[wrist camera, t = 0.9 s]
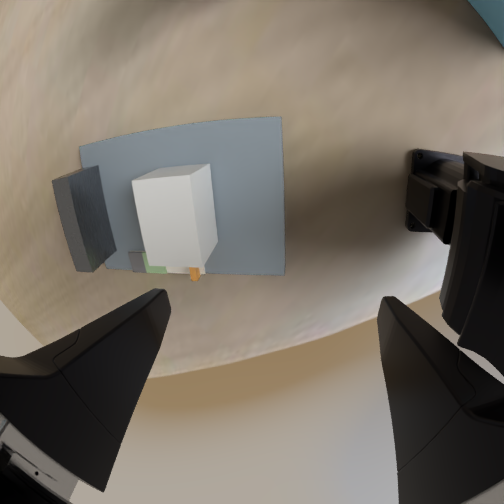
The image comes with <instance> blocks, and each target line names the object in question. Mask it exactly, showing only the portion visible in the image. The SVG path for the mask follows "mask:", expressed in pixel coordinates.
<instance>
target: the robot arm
mask: <svg viewBox="0 0 504 504" xmlns="http://www.w3.org/2000/svg"><path fill="white" fill-rule="evenodd" d="M418 153H420V154H421V157H420V158H419V159H418V157H417V155H418ZM406 208H407V209H408V210H407V217H406V227H407V229H408V230H409V231H413V232H433V233H434V234H435V235H436V236H437V237H438V238H439V239H440V240H441V241H442V242H443V243H444V244H449V245H450V250H449V256H448V261H447V266H446V271H445V275H444V280H443V284H442V288H441V293H440V297H439V299H440V302H441V307H442V310H443V313H442V317H443V319H444V320H445V321H446V323H447V324H448V325H449V327H450V328H452V329H453V330H454V331H455V332H456V333H457V334H458V335H460V337H459V339H458V342H457V344H458V346H460V347H462V348H465V349H468V350H471V351H474V352H475V353H477V354H479V355H481V356H482V357H484V358H485V359H487V360H488V361H489V362H490V363H491V364H492V365H493V366H494V367H495V368H496V369H497V370H498V371H499V372H500V373H501V374H502V375H503V376H504V157H501V156H494V155H487V154H480V153H472V152H463V156H460V155H454V154H449V153H443V152H437V151H430V150H423V149H415V150H414V151H413V154H412V169H411V174H410V175H409V177H408V188H407V198H406ZM411 223H414V224H413V226H411V227H410V224H411ZM170 314H171V306H170V302H169V299H168V295H167V292H166V290H165V289H157V288H155V289H153V290H151V291H149V292H147V293H145V294H143V295H141V296H139V297H137V298H136V299H134V300H132V301H130V302H128V303H126V304H124V305H122V306H121V307H119V308H117V309H115V310H113V311H111V312H109V313H108V314H106V315H104V316H102V317H100V318H98V319H96V320H95V321H93V322H91V323H89V324H87V325H85V326H84V327H82V328H81V329H78V330H76V331H74V332H73V333H71V334H69V335H67V336H65V337H63V338H61V339H59V340H57V341H55V342H53V343H51V344H49V345H46V346H44V347H42V348H40V349H38V350H36V351H33V352H31V353H29V354H27V355H25V356H21V357H15V358H11V357H5V356H0V504H72V503H71V502H69V499H70V497H71V495H72V493H73V491H74V488H75V486H76V484H77V482H78V480H81V481H82V482H84V483H86V484H88V485H89V486H91V487H93V488H95V489H97V490H99V491H101V492H104V491H105V488H106V485H107V482H108V480H109V477H110V474H111V471H112V468H113V465H114V462H115V460H116V457H117V454H118V451H119V449H120V446H121V443H122V440H123V438H124V435H125V432H126V430H127V427H128V424H129V422H130V419H131V417H132V414H133V412H134V409H135V407H136V404H137V402H138V399H139V397H140V394H141V392H142V389H143V387H144V384H145V382H146V380H147V377H148V375H149V372H150V370H151V368H152V365H153V363H154V361H155V358H156V356H157V354H158V351H159V349H160V346H161V343H162V340H163V337H164V333H165V330H166V327H167V324H168V321H169V317H170ZM377 324H378V333H379V341H380V353H381V361H382V367H383V372H384V377H385V382H386V388H387V393H388V399H389V405H390V412H391V418H392V426H393V433H394V441H395V450H396V461H397V471H398V473H397V475H398V493H399V504H504V384H503V383H501V382H500V381H499V380H497V379H496V378H494V377H493V376H492V375H490V374H489V373H488V372H486V371H485V370H484V369H483V368H481V367H480V366H479V365H478V364H476V363H475V362H474V361H473V360H471V359H470V358H469V357H468V356H467V355H466V354H464V353H463V352H462V351H459V349H458V348H457V347H456V346H455V345H454V344H453V343H452V342H450V341H449V340H448V339H447V338H445V337H444V336H443V335H442V334H441V333H440V332H438V331H437V330H436V329H435V328H433V327H432V326H431V325H430V324H429V323H427V322H426V321H425V320H423V319H422V318H421V317H420V316H419V315H417V314H416V313H415V312H414V311H412V310H411V309H410V308H409V307H407V306H406V305H405V304H404V303H402V302H401V301H400V300H398V299H397V298H396V297H394V296H385V297H383V298H382V300H381V304H380V309H379V313H378V317H377Z"/></svg>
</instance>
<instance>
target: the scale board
mask: <svg viewBox="0 0 504 504" xmlns="http://www.w3.org/2000/svg"><path fill="white" fill-rule="evenodd" d="M79 149H80V156H81V162H82V168H86V167H91V166H96V165H99V171H100V177H101V182H102V188H103V193H104V198H105V203H106V208H107V212H108V217H109V221H110V225H111V229H112V233H113V237H114V241H115V245H116V249H117V251H116V252H115V253H114V254H112V255H111V256H110V257H109V258H108V259H107V260H106V261H105V265H106V268H107V269H124V270H133V272H142V273H160V274H167V273H180V274H190V270H189V267H168V266H149V263H148V259H147V255H146V251H145V247H144V242H143V238H142V233H141V229H140V224H139V219H138V214H137V209H136V204H135V198H134V193H133V187H132V180H134V179H136V178H138V177H141V176H143V175H145V174H147V173H149V172H152V171H154V170H156V169H158V168H165V167H174V166H184V165H196V164H209V163H210V170H211V180H212V190H213V199H214V209H215V218H216V227H217V235H218V243H217V244H216V246H215V248H214V249H213V251H212V253H211V254H210V256H209V258H208V260H207V261H206V263H205V265H204V266H203V268H199V270H200V274H204V275H205V273H212V274H243V275H285V206H284V168H283V141H282V119H281V117H258V118H241V119H228V120H218V121H208V122H199V123H192V124H184V125H177V126H171V127H165V128H159V129H153V130H148V131H142V132H137V133H133V134H128V135H123V136H119V137H115V138H110V139H106V140H102V141H98V142H95V143H91V144H87V145H84V146H80V147H79Z"/></svg>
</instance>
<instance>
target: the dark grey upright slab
mask: <svg viewBox="0 0 504 504" xmlns="http://www.w3.org/2000/svg"><path fill="white" fill-rule="evenodd" d="M52 184H53V189H54V194H55V198H56V202H57V207H58V211H59V215H60V219H61V222H62V226H63V230H64V233H65V237H66V240H67V243H68V247H69V250H70V253H71V256H72V259H73V262H74V265H75V268H76V271H80V272H92V273H93V272H94V271H95V270H96V269H97V268H98V267H99V266H100V265H101V264H102V263H104V262H105V261H106V260H107V259H108V258H109V257H110V256H111V255H112V254H114V253H115V252H116V251H117V249H116V245H115V241H114V237H113V233H112V229H111V225H110V221H109V217H108V212H107V208H106V203H105V198H104V193H103V188H102V182H101V177H100V171H99V165H96V166H91V167H86V168H82V169H79V170H77V171H74V172H72V173H69V174H66V175H64V176H61V177H59V178H57V179H54V180H52Z"/></svg>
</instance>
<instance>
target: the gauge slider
mask: <svg viewBox="0 0 504 504" xmlns="http://www.w3.org/2000/svg"><path fill="white" fill-rule="evenodd" d="M132 187H133V193H134V198H135V204H136V209H137V214H138V219H139V224H140V229H141V233H142V238H143V242H144V247H145V251H146V255H147V259H148V263H149V266H168V267H189V270H190V275H191V280H192V281H198V279H199V278H200V270H199V268H203V266H204V265H205V263H206V261H207V260H208V258H209V256H210V254H211V253H212V251H213V249H214V248H215V246H216V244H217V243H218V235H217V227H216V218H215V209H214V199H213V190H212V180H211V170H210V163H209V164H196V165H184V166H174V167H165V168H158V169H156V170H154V171H152V172H149V173H147V174H145V175H143V176H141V177H138V178H136V179H134V180H132Z"/></svg>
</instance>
